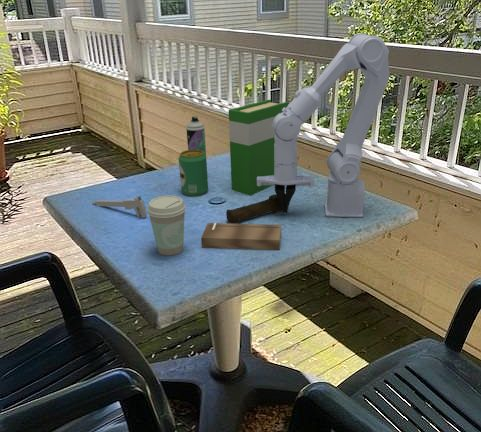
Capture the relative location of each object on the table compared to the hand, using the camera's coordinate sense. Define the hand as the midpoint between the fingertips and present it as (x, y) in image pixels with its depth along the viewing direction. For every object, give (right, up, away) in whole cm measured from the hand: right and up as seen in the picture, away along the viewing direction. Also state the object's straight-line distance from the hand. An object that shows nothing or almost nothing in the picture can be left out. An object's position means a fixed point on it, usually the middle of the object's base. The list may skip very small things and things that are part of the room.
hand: (285, 211), depth 127 cm
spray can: (-25, +10, +28) cm, 39 cm away
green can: (-25, +6, +17) cm, 31 cm away
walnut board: (-11, -7, -12) cm, 18 cm away
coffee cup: (-28, -9, -15) cm, 33 cm away
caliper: (-45, 0, +6) cm, 46 cm away
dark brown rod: (-7, -1, +1) cm, 7 cm away
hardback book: (-6, +8, +21) cm, 24 cm away
